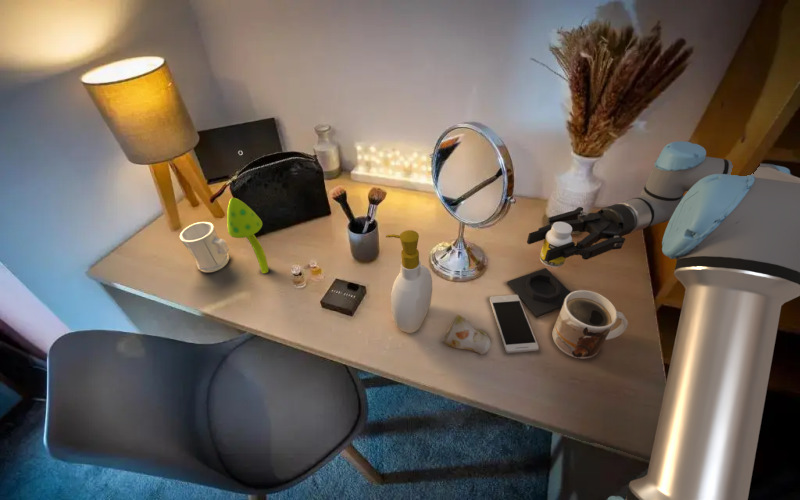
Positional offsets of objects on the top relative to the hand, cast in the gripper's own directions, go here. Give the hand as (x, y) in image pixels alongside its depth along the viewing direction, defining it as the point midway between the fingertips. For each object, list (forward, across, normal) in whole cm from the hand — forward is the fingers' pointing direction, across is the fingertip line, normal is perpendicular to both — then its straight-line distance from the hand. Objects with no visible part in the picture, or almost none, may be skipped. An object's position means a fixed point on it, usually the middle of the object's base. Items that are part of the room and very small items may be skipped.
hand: (538, 247), depth 76 cm
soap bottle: (+28, +6, -17) cm, 33 cm away
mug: (-4, -15, -18) cm, 23 cm away
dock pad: (-5, 0, -17) cm, 18 cm away
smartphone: (+7, -5, -17) cm, 19 cm away
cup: (+73, +48, -17) cm, 89 cm away
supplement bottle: (-5, 0, -6) cm, 8 cm away
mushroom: (+60, +38, -17) cm, 73 cm away
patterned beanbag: (+19, -6, -17) cm, 26 cm away
